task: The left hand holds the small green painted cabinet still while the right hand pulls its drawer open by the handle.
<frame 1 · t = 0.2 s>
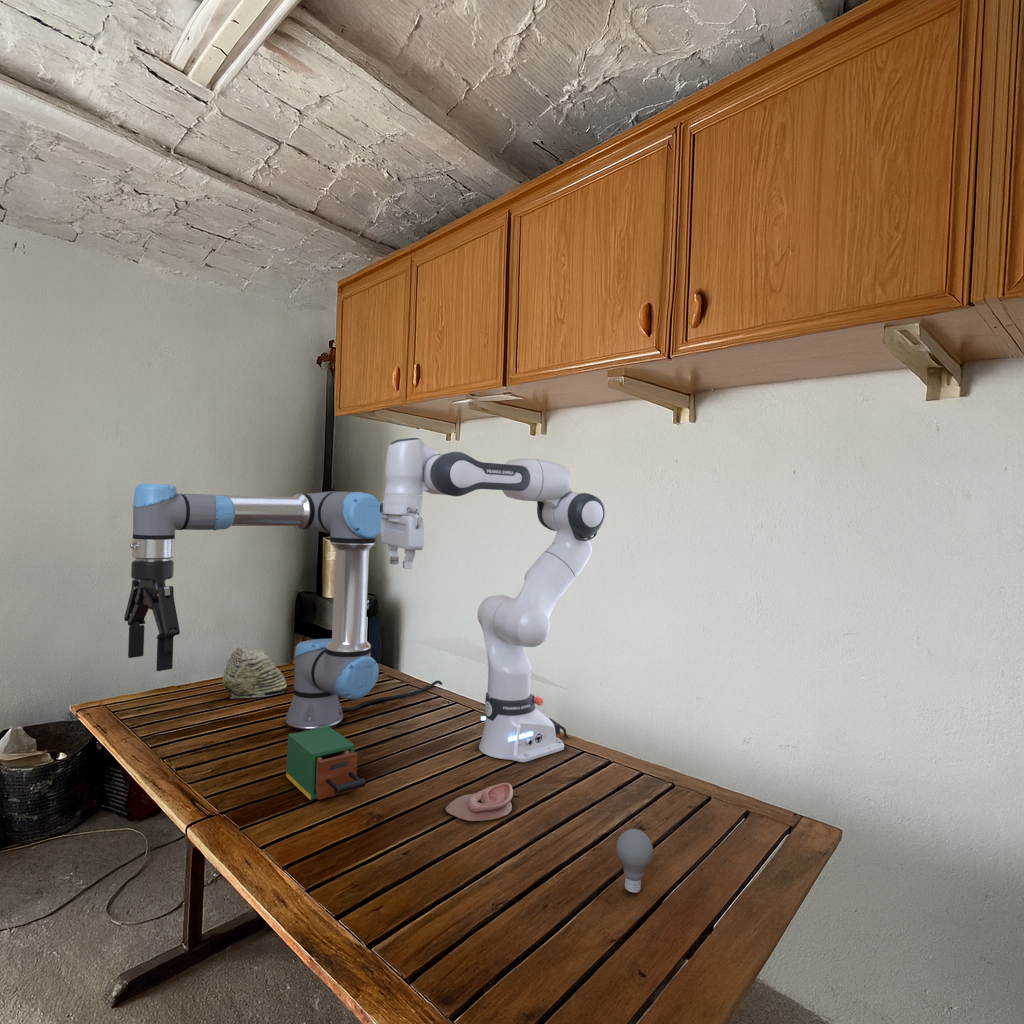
left hand: (149, 663, 129), 28 cm above the table, tool pointing down, fingers open, 13 cm apart
right hand: (400, 566, 148), 48 cm above the table, tool pointing down, fingers open, 8 cm apart
fossil: (254, 694, 198), on the table
cabinet: (319, 782, 140), on the table
light bulb: (632, 891, 106), on the table
anatomical model: (479, 809, 131), on the table
drawer: (332, 770, 135), point 5 cm above the table, slide at 1.5 cm
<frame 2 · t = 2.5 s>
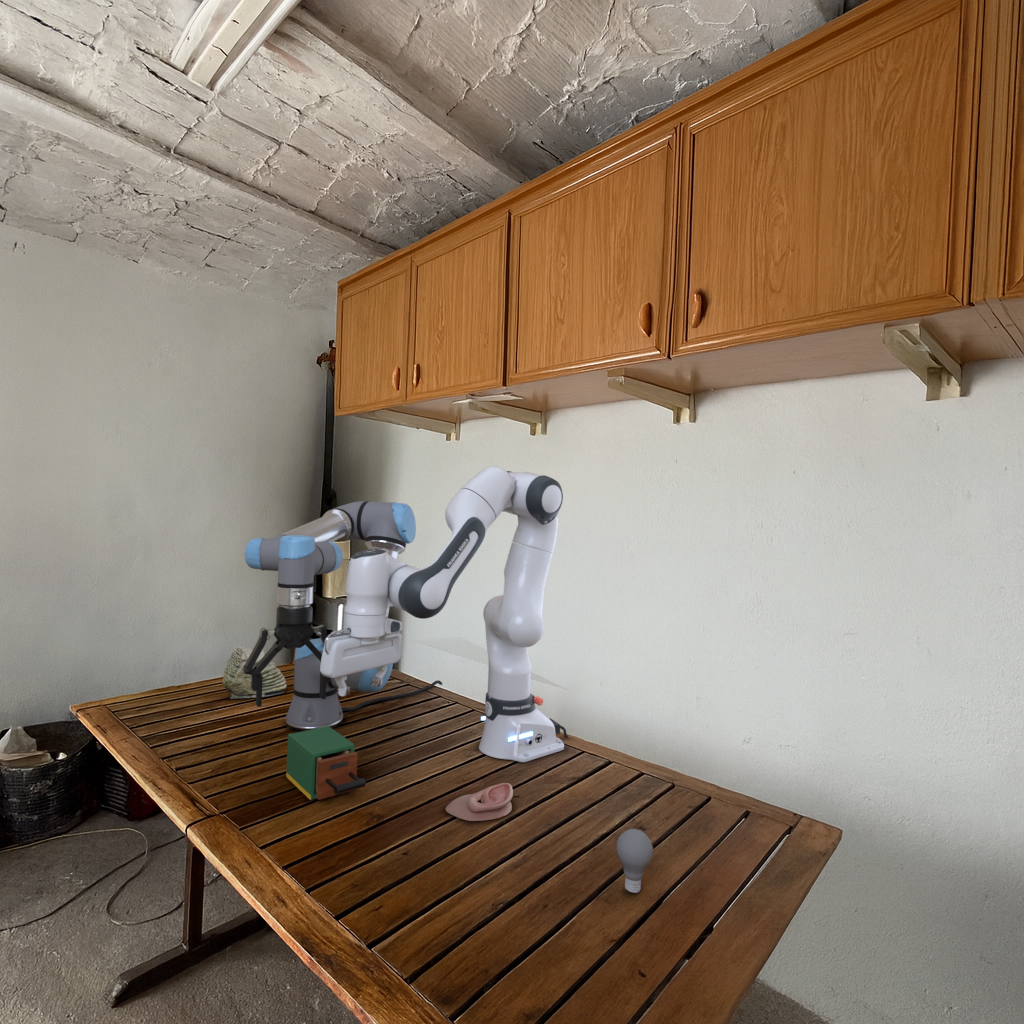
left hand: (291, 701, 140), 18 cm above the table, tool pointing down, fingers open, 13 cm apart
right hand: (360, 690, 135), 23 cm above the table, tool pointing down, fingers open, 8 cm apart
nothing on the table moved.
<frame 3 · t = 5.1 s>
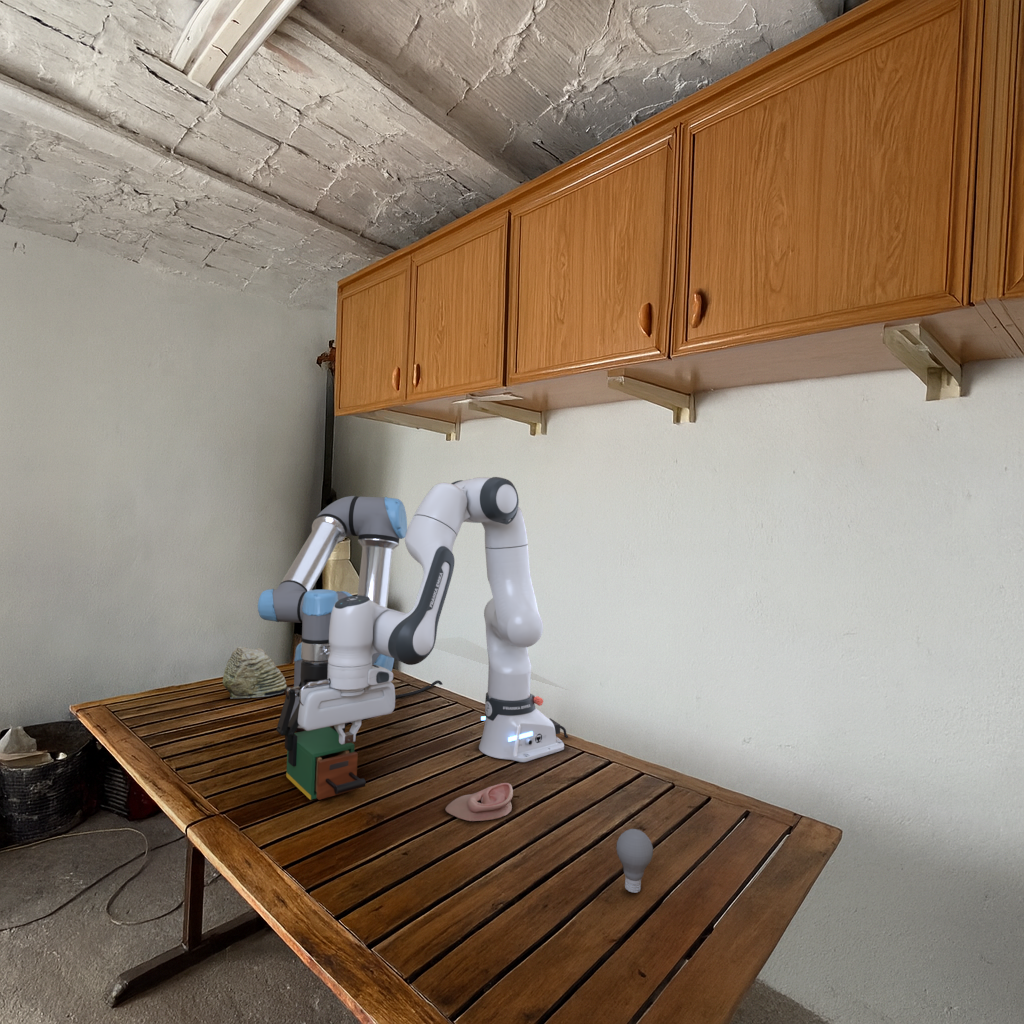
left hand: (314, 758, 142), 4 cm above the table, tool pointing down, fingers closed on cabinet, 10 cm apart
right hand: (347, 742, 131), 13 cm above the table, tool pointing down, fingers closed
cabinet: (319, 782, 140), on the table, touching left hand
everything else where it was.
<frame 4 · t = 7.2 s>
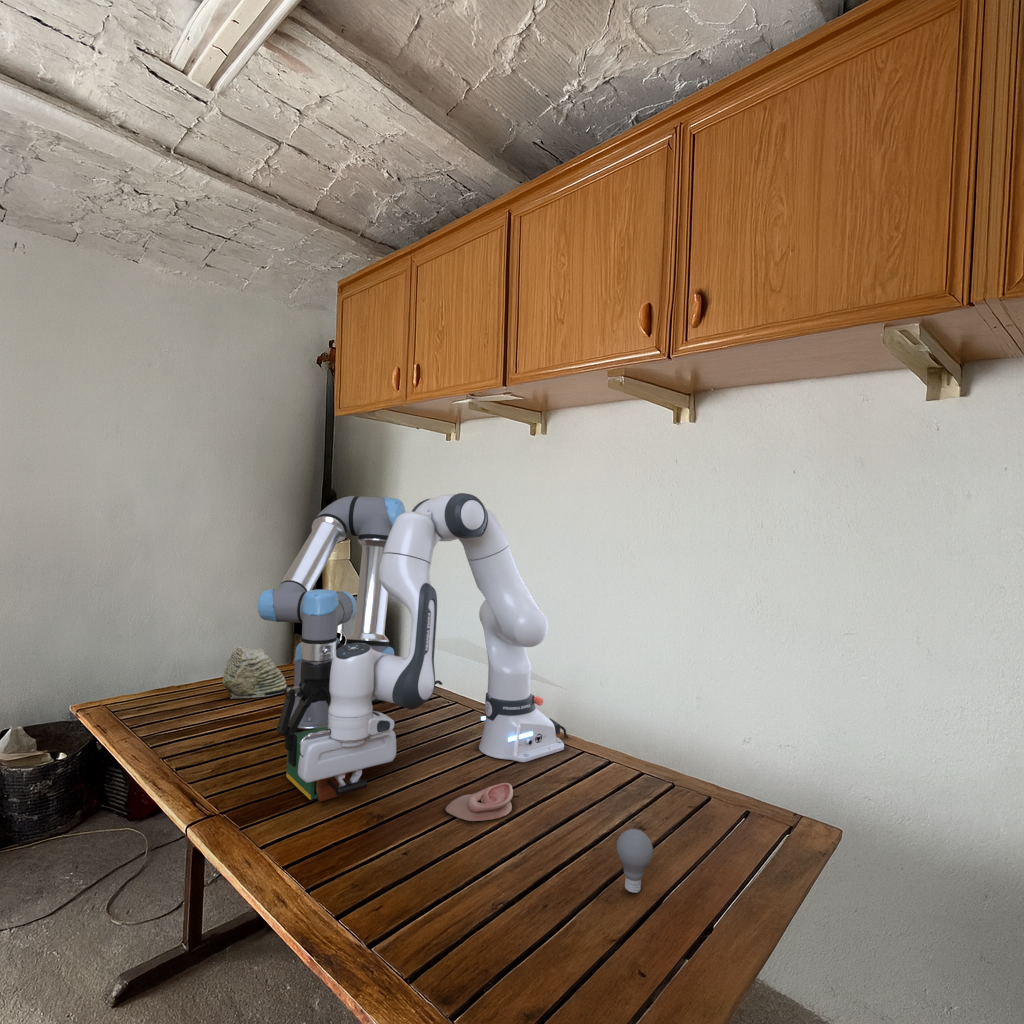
left hand: (314, 758, 142), 4 cm above the table, tool pointing down, fingers closed on cabinet, 10 cm apart
right hand: (347, 791, 130), 3 cm above the table, tool pointing down, fingers closed, pressing on drawer
cabinet: (319, 782, 140), on the table, touching left hand
drawer: (333, 772, 135), point 5 cm above the table, slide at 2.2 cm, touching right hand
everything else where it was.
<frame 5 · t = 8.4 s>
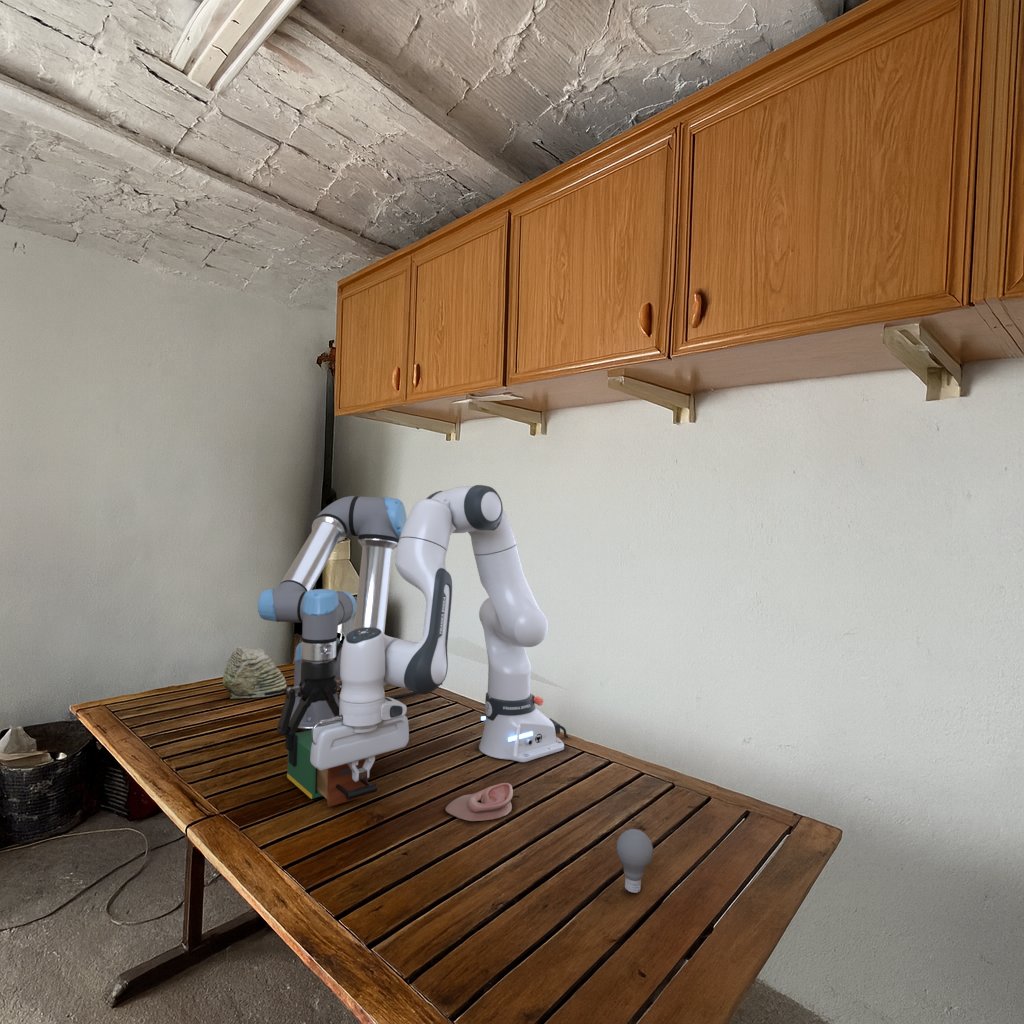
left hand: (315, 758, 142), 5 cm above the table, tool pointing down, fingers closed on cabinet, 10 cm apart
right hand: (360, 779, 127), 7 cm above the table, tool pointing down, fingers closed
cabinet: (320, 782, 140), on the table, touching left hand
drawer: (342, 776, 132), point 5 cm above the table, slide at 6.1 cm
everything else where it was.
when the left hand's fingers open (5 cm above the table, at t = 9.6 s): cabinet stays where it is, on the table.
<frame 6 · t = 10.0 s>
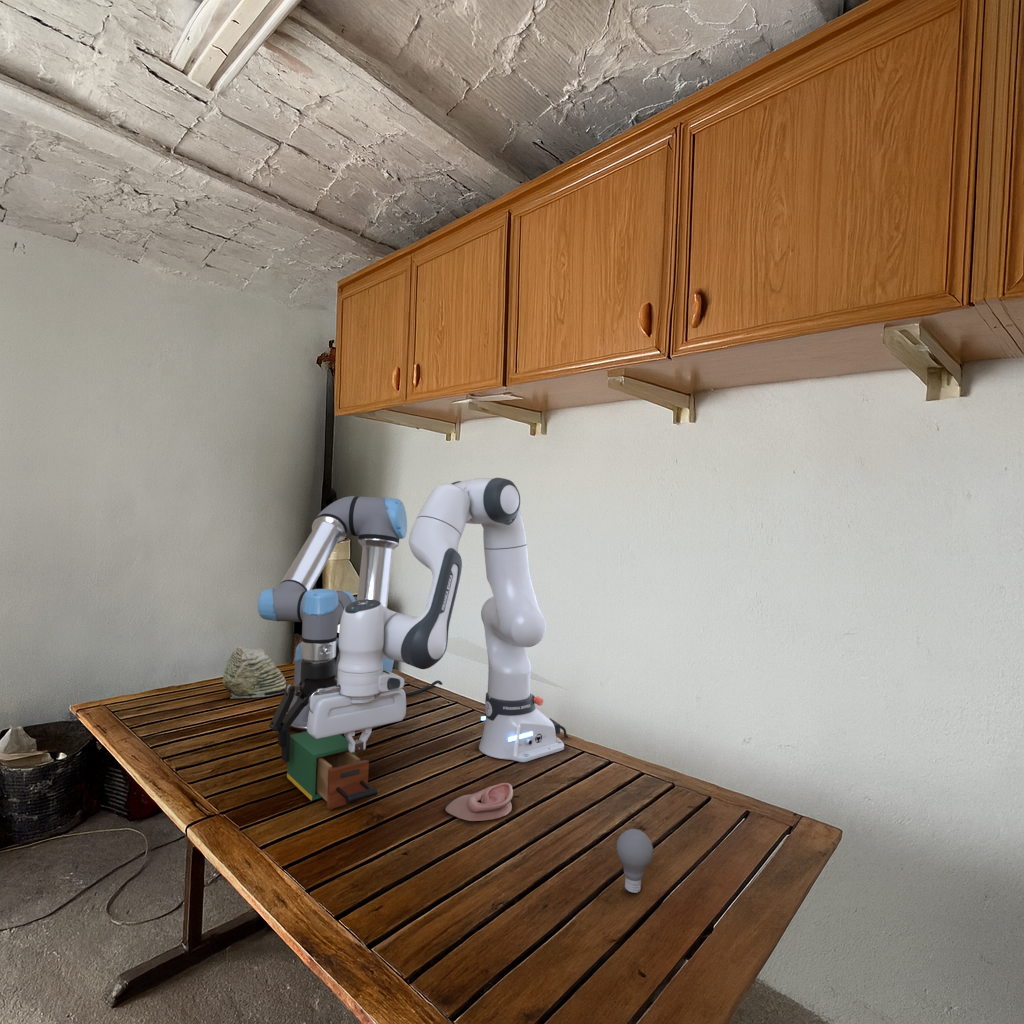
left hand: (315, 753, 142), 6 cm above the table, tool pointing down, fingers open, 13 cm apart
right hand: (356, 750, 127), 13 cm above the table, tool pointing down, fingers closed
cabinet: (320, 783, 140), on the table
everything else where it was.
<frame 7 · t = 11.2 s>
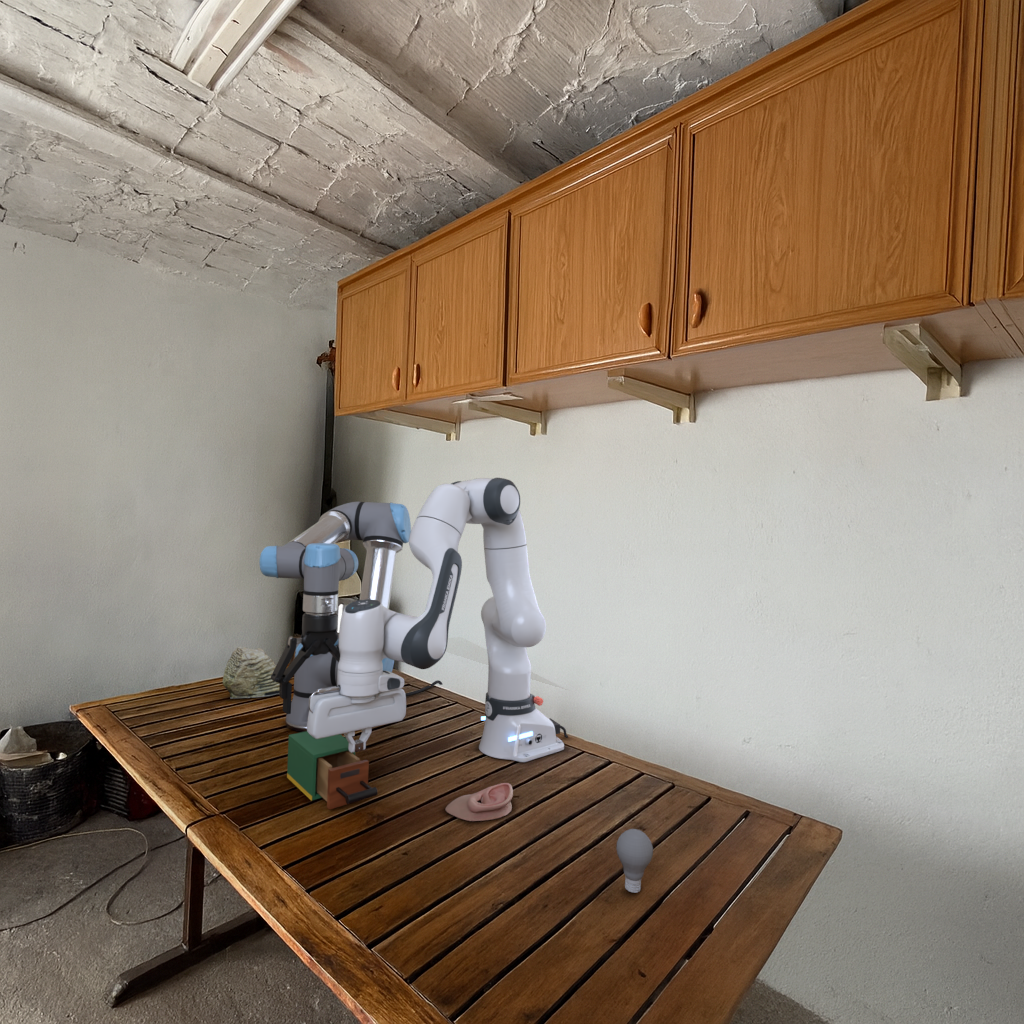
left hand: (316, 706, 142), 16 cm above the table, tool pointing down, fingers open, 13 cm apart
right hand: (356, 750, 127), 13 cm above the table, tool pointing down, fingers closed
nothing on the table moved.
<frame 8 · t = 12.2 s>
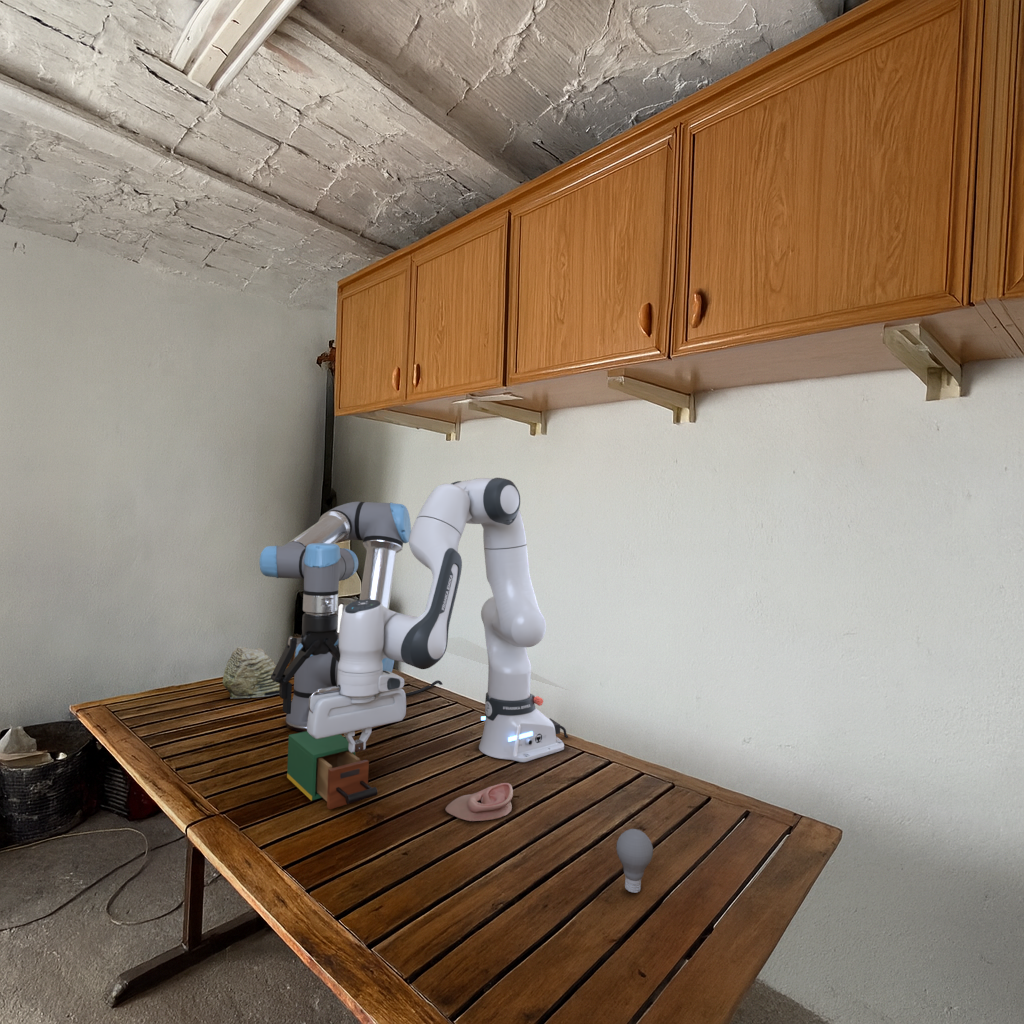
left hand: (316, 706, 142), 16 cm above the table, tool pointing down, fingers open, 13 cm apart
right hand: (356, 750, 127), 13 cm above the table, tool pointing down, fingers closed
nothing on the table moved.
at the end: drawer slide at 6.0 cm; cabinet tilted 0°; cabinet never tilted more than 2° during the clip; cabinet moved 0.4 cm from its start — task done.
